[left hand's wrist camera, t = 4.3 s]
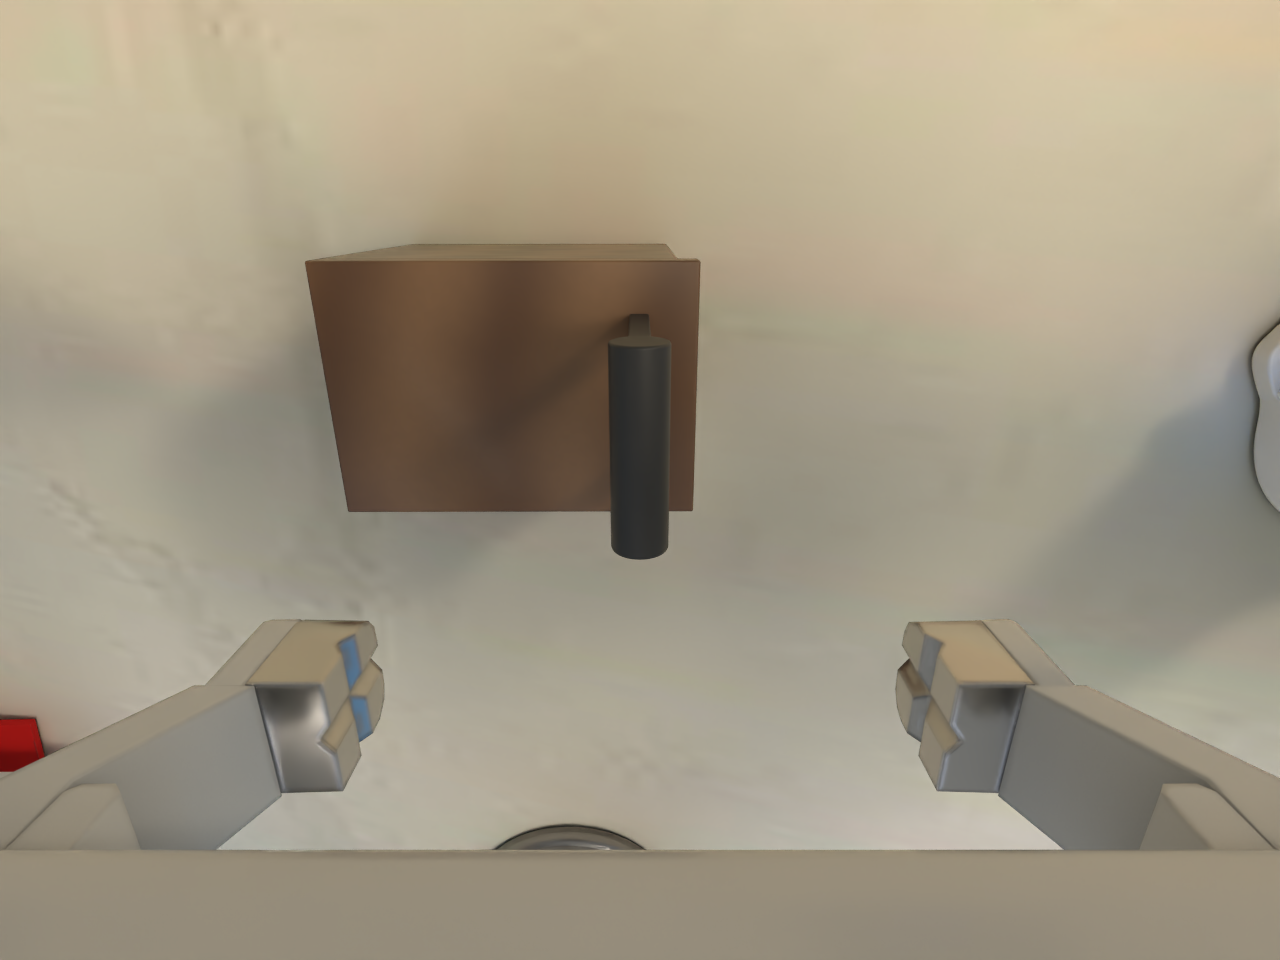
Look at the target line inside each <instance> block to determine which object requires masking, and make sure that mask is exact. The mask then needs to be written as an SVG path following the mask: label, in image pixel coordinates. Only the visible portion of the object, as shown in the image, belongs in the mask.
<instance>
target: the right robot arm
mask: <svg viewBox="0 0 1280 960" xmlns="http://www.w3.org/2000/svg"><path fill="white" fill-rule="evenodd" d="M497 850H644V849H642V848H641V847H639V846H638V845H636V844H635V843H633V842H631V841H629V840H627V839H625V838H623V837H620V836H618V835H615V834H612V833H609V832H606V831H602V830H597V829H592V828H584V827H554V828H546V829H541V830H537V831H533V832H529V833H527V834H524V835H521V836H519V837H517V838H514V839H512V840H510V841H509V842H507V843H505V844H504V845H502V846H501V847H499V848H498V849H497Z"/></svg>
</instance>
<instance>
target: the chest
mask: <svg viewBox="0 0 1280 960" xmlns="http://www.w3.org/2000/svg"><path fill="white" fill-rule="evenodd" d="M321 259H677V258H676V256H675V255H674V254H673V253H672V251H671V250H670V249H669V247H668V246H667V245H666V244H411V245H405V246H398V247H392V248H385V249H379V250H373V251H366V252H360V253H353V254H347V255H341V256H334V257H328V258H321Z"/></svg>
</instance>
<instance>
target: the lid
mask: <svg viewBox="0 0 1280 960" xmlns="http://www.w3.org/2000/svg"><path fill="white" fill-rule="evenodd" d="M305 265H306V271H307V277H308V283H309V288H310V294H311V300H312V306H313V311H314V317H315V323H316V329H317V334H318V340H319V346H320V352H321V357H322V363H323V369H324V375H325V380H326V386H327V392H328V398H329V403H330V409H331V415H332V421H333V426H334V432H335V438H336V444H337V449H338V455H339V461H340V467H341V472H342V478H343V484H344V490H345V495H346V501H347V507H348V511H349V512H493V511H611V546H612V549H613V551H614V552H615V553H616V554H618V555H620V556H622V557H625V558H629V559H650V558H655V557H658V556H660V555H662V554H663V553H664V552H665V551H666V550H667V548H668V525H669V511H692V510H693V490H694V457H695V424H696V391H697V358H698V325H699V292H700V261H699V260H698V259H315V260H309V261H306V262H305Z"/></svg>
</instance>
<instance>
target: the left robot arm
mask: <svg viewBox="0 0 1280 960" xmlns="http://www.w3.org/2000/svg"><path fill="white" fill-rule="evenodd" d="M1252 372H1253V377H1254V381H1255V385H1256V388H1257V391H1258V394H1259V398H1260V410H1259V417H1258V422H1257V427H1256V433H1255V439H1254V465H1255V471H1256V475H1257V479H1258V481H1259V484H1260V486H1261V489H1262V491H1263V492H1264V494H1265V496H1266V497H1267V499H1268V500H1269V501H1270V503H1271V504H1272V505H1273V506H1274V507H1275V508H1276V509H1277V510H1278V511H1279V512H1280V324H1279V325H1277V326H1276V327H1275V328H1274V329H1273V330H1272V331H1271V332H1270V333H1269V334H1268V335H1267V336H1266V337H1265V338H1264V339H1263V340H1262V341H1261V342H1260V343H1259V344H1258V346H1257V347H1256V349H1255V351H1254V353H1253V356H1252ZM377 646H378V643H377V638H376V633H375V628H374V626H373V625H372V624H371V623H370V622H369V621H345V620H300V619H286V620H269V621H265V622H263V623H262V624H261V625H260V626H259V627H258V628H257V630H256V631H255V632H254V633H253V634H252V635H251V636H250V637H249V638H248V639H247V640H246V641H245V643H244V644H243V645H242V646H241V647H240V648H239V649H238V650H237V651H236V652H235V653H234V654H233V656H232V657H231V658H230V659H229V660H228V661H227V662H226V663H225V664H224V665H223V666H222V667H221V669H220V670H219V671H218V672H217V673H216V674H215V675H214V676H213V677H212V678H211V679H210V680H209V682H208V683H207V684H206V685H198V686H192V687H190V688H188V689H186V690H184V691H181V692H179V693H177V694H175V695H173V696H171V697H169V698H167V699H165V700H163V701H161V702H158V703H156V704H154V705H152V706H150V707H148V708H146V709H144V710H142V711H140V712H138V713H135V714H133V715H131V716H129V717H127V718H125V719H123V720H121V721H119V722H117V723H115V724H112V725H110V726H108V727H106V728H104V729H102V730H100V731H98V732H96V733H94V734H92V735H89V736H87V737H85V738H83V739H81V740H79V741H77V742H75V743H73V744H71V745H69V746H66V747H64V748H62V749H60V750H58V751H56V752H54V753H52V754H50V755H48V756H46V757H43V758H41V759H39V760H37V761H35V762H33V763H31V764H29V765H27V766H25V767H23V768H20V769H18V770H16V771H14V772H12V773H10V774H8V775H6V776H4V777H2V778H0V960H1280V778H1278V777H1276V776H1274V775H1272V774H1269V773H1267V772H1265V771H1263V770H1261V769H1259V768H1257V767H1255V766H1253V765H1251V764H1249V763H1247V762H1244V761H1242V760H1240V759H1238V758H1236V757H1234V756H1232V755H1230V754H1228V753H1226V752H1224V751H1222V750H1219V749H1217V748H1215V747H1213V746H1211V745H1209V744H1207V743H1205V742H1203V741H1201V740H1199V739H1197V738H1194V737H1192V736H1190V735H1188V734H1186V733H1184V732H1182V731H1180V730H1178V729H1176V728H1174V727H1171V726H1169V725H1167V724H1165V723H1163V722H1161V721H1159V720H1157V719H1155V718H1153V717H1151V716H1149V715H1146V714H1144V713H1142V712H1140V711H1138V710H1136V709H1134V708H1132V707H1130V706H1128V705H1126V704H1124V703H1121V702H1119V701H1117V700H1115V699H1113V698H1111V697H1109V696H1107V695H1105V694H1103V693H1101V692H1099V691H1096V690H1094V689H1092V688H1090V687H1088V686H1082V685H1074V684H1073V683H1072V682H1071V680H1070V679H1069V678H1068V677H1067V676H1066V675H1065V674H1064V673H1063V672H1062V671H1061V670H1060V669H1059V667H1058V666H1057V665H1056V664H1055V663H1054V662H1053V661H1052V660H1051V659H1050V658H1049V657H1048V656H1047V654H1046V653H1045V652H1044V651H1043V650H1042V649H1041V648H1040V647H1039V646H1038V645H1037V644H1036V643H1035V641H1034V640H1033V639H1032V638H1031V637H1030V636H1029V635H1028V634H1027V633H1026V632H1025V631H1024V630H1023V628H1022V627H1021V626H1020V625H1019V624H1018V623H1017V622H1014V621H1012V620H1010V619H995V620H975V621H934V622H909V623H908V625H907V627H906V629H905V631H904V637H903V642H902V646H903V648H904V650H905V651H906V653H907V655H908V656H909V659H908V660H907V661H906V662H905V663H904V664H903V665H902V666H901V667H900V668H899V669H898V672H897V680H896V688H895V690H896V701H897V709H898V712H899V716H900V719H901V722H902V724H903V726H904V728H905V730H906V732H907V733H908V734H909V735H911V736H912V737H914V738H915V739H917V740H918V741H920V742H921V745H920V750H919V757H920V759H921V761H922V763H923V765H924V767H925V769H926V771H927V773H928V775H929V777H930V778H931V780H932V782H933V784H934V786H935V788H936V790H937V791H948V792H984V793H999V794H998V796H999V797H1000V798H1002V799H1003V800H1004V801H1005V802H1007V803H1008V804H1009V805H1010V806H1011V807H1013V808H1014V809H1015V810H1016V811H1017V812H1019V813H1020V814H1021V815H1022V816H1024V817H1025V818H1026V819H1027V820H1028V821H1030V822H1031V823H1032V824H1033V825H1035V826H1036V827H1037V828H1038V829H1039V830H1041V831H1042V832H1043V833H1044V834H1046V835H1047V836H1048V837H1049V838H1050V839H1052V840H1053V841H1054V842H1055V843H1057V844H1058V845H1059V846H1060V847H1061V848H1063V849H1064V850H216V849H218V848H219V847H220V846H221V845H222V844H224V843H225V842H226V841H227V840H229V839H230V838H231V837H232V836H233V835H235V834H236V833H237V832H238V831H240V830H241V829H242V828H243V827H244V826H246V825H247V824H248V823H249V822H251V821H252V820H253V819H254V818H255V817H257V816H258V815H259V814H260V813H262V812H263V811H264V810H265V809H266V808H268V807H269V806H270V805H271V804H273V803H274V802H275V801H276V800H277V799H279V798H280V797H281V793H296V792H331V791H343V790H344V788H345V786H346V784H347V782H348V780H349V779H350V777H351V775H352V773H353V771H354V769H355V767H356V765H357V763H358V761H359V759H360V757H361V750H360V745H359V742H360V741H362V740H363V739H365V738H366V737H368V736H369V735H371V734H372V733H373V732H374V730H375V728H376V726H377V723H378V721H379V719H380V716H381V711H382V707H383V702H384V679H383V672H382V669H381V668H380V667H379V666H378V665H377V664H376V663H375V662H374V661H373V660H372V659H371V656H372V655H373V653H374V651H375V650H376V648H377Z"/></svg>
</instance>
